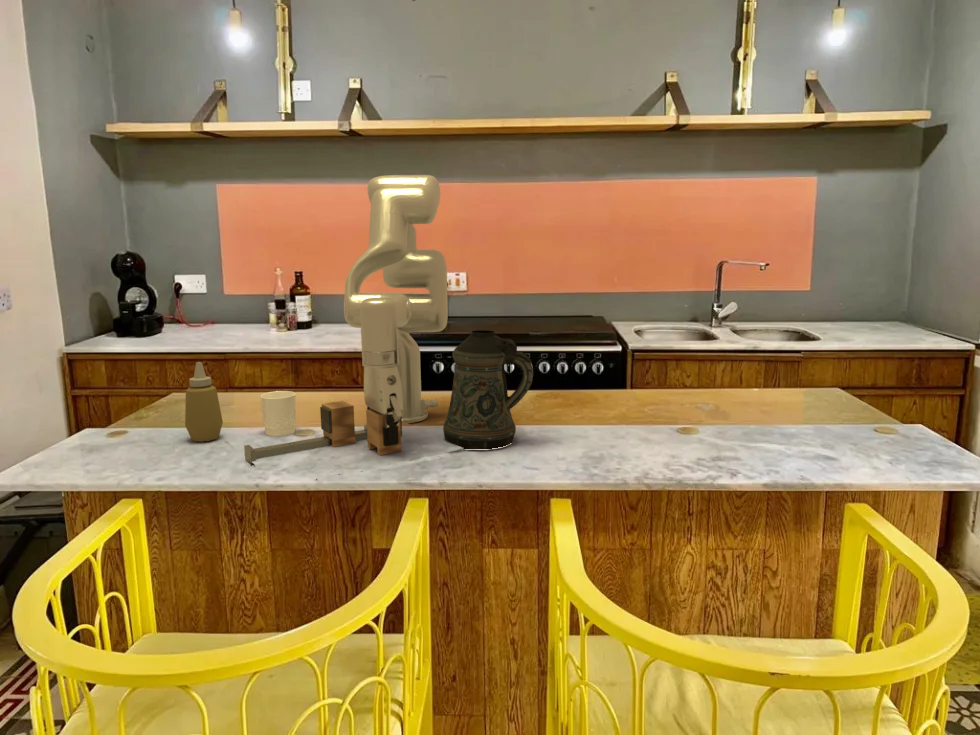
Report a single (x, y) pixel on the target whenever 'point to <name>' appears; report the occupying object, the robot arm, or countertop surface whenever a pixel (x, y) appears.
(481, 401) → the beer stein
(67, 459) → the countertop surface
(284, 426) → the white cup
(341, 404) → the wooden block
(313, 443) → the rail
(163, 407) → the countertop surface
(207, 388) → the squeeze bottle
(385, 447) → the brown capped cube
